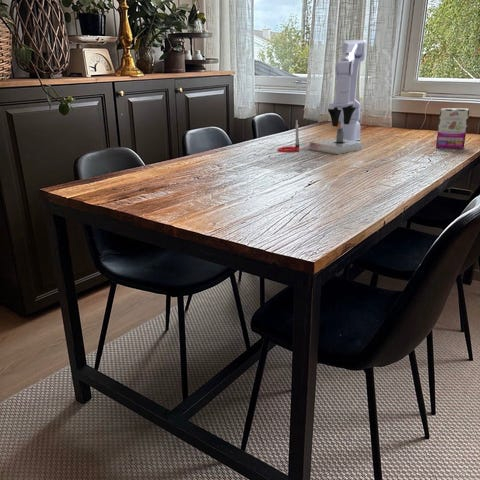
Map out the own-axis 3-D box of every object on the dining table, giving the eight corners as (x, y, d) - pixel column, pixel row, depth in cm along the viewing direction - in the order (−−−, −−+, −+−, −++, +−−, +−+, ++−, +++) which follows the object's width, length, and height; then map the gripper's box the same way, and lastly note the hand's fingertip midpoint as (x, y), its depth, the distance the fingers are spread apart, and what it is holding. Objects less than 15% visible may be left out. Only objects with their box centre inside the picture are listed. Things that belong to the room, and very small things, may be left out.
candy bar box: (463, 147, 202) (469, 108, 196) (463, 149, 198) (470, 109, 191) (435, 145, 206) (440, 107, 200) (435, 148, 201) (440, 108, 195)
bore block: (332, 144, 214) (333, 137, 213) (362, 148, 203) (362, 141, 202) (309, 149, 204) (309, 142, 203) (338, 154, 193) (339, 147, 192)
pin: (338, 148, 204) (340, 127, 201) (344, 149, 202) (345, 128, 199) (334, 149, 202) (335, 128, 199) (339, 150, 200) (340, 129, 197)
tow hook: (278, 153, 200) (299, 152, 199) (277, 122, 195) (299, 121, 194) (277, 149, 208) (298, 148, 207) (276, 120, 203) (298, 118, 202)
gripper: (345, 90, 200) (343, 122, 205) (323, 92, 192) (322, 126, 197) (359, 91, 195) (357, 124, 200) (337, 93, 187) (335, 127, 192)
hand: (340, 125), depth 198 cm, fingers open, 7 cm apart
